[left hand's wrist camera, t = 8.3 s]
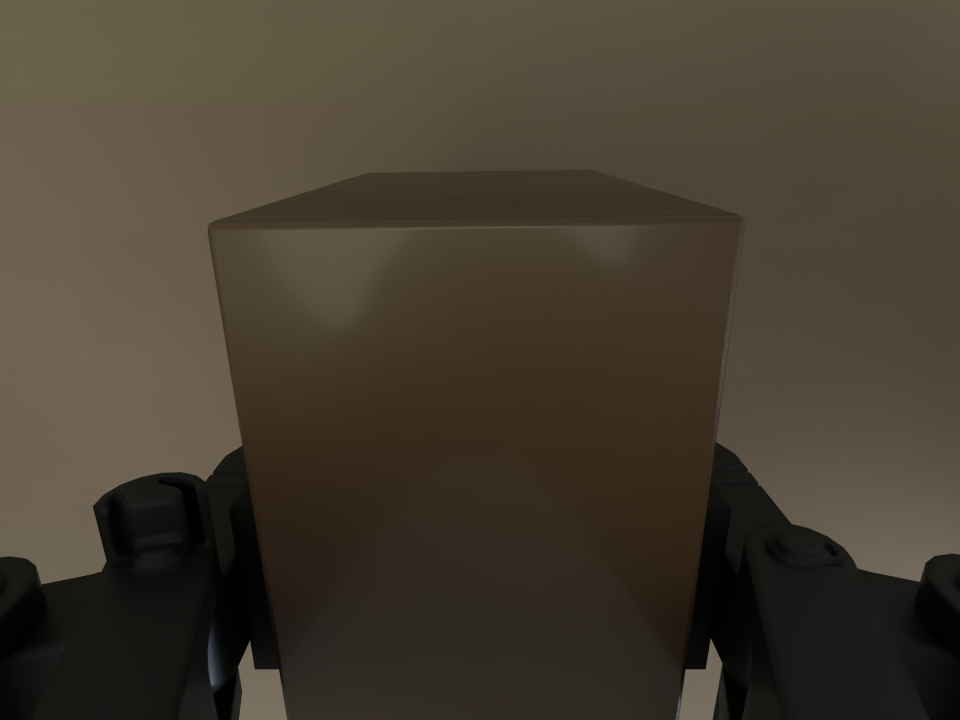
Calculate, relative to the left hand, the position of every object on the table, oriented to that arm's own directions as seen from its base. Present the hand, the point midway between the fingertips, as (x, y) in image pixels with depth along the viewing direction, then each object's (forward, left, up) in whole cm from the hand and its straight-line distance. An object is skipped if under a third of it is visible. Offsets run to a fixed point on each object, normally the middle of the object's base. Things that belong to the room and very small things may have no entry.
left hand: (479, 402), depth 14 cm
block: (-22, +10, -1) cm, 24 cm away
